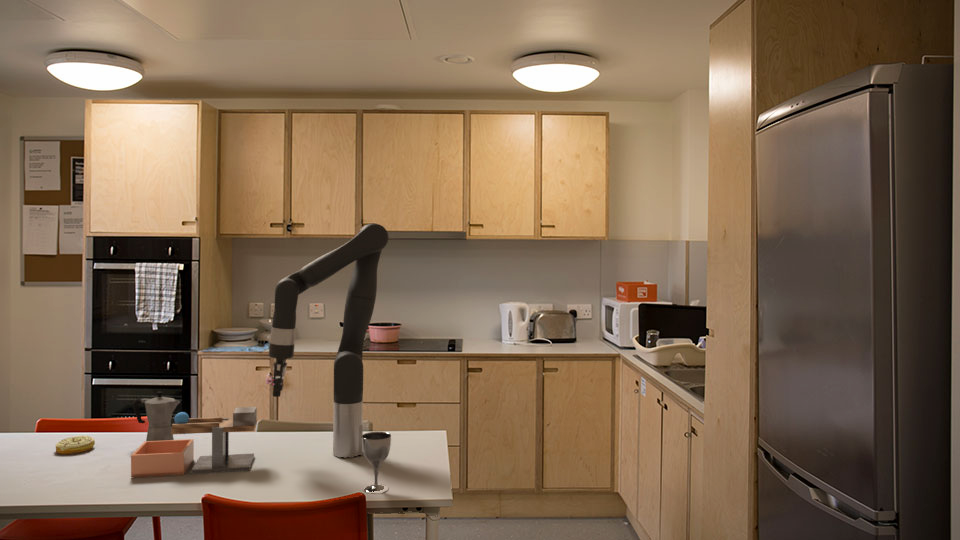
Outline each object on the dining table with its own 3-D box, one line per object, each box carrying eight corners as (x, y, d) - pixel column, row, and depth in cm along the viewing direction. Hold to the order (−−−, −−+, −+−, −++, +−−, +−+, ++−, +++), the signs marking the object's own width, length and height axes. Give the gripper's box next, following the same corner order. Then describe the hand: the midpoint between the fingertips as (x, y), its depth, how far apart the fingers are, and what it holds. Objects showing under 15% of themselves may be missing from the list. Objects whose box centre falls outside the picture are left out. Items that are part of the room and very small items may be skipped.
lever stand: (254, 457, 209) (254, 416, 208) (249, 470, 196) (249, 427, 195) (200, 460, 205) (200, 418, 205) (191, 474, 192) (191, 429, 192)
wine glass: (362, 484, 186) (363, 431, 186) (391, 483, 187) (391, 431, 187) (360, 494, 178) (360, 439, 178) (389, 494, 179) (390, 439, 179)
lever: (256, 423, 206) (256, 406, 206) (253, 430, 198) (253, 412, 198) (177, 427, 201) (177, 409, 201) (171, 434, 193) (171, 415, 193)
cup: (193, 459, 205) (193, 439, 205) (183, 475, 191) (183, 452, 191) (144, 462, 202) (144, 441, 202) (131, 478, 188) (131, 455, 188)
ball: (190, 423, 200) (190, 410, 200) (187, 426, 196) (187, 413, 196) (176, 424, 199) (176, 410, 199) (172, 427, 195) (172, 414, 195)
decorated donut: (52, 450, 213) (52, 438, 213) (89, 443, 221) (89, 432, 221) (60, 457, 206) (59, 445, 206) (98, 450, 213) (98, 439, 213)
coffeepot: (185, 441, 224) (185, 388, 224) (173, 449, 215) (173, 394, 214) (139, 440, 224) (139, 388, 223) (125, 449, 214) (125, 394, 214)
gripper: (293, 346, 200) (288, 399, 200) (295, 339, 214) (291, 389, 214) (267, 344, 199) (262, 398, 199) (271, 338, 212) (267, 388, 213)
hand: (277, 393), depth 207 cm, fingers open, 8 cm apart
